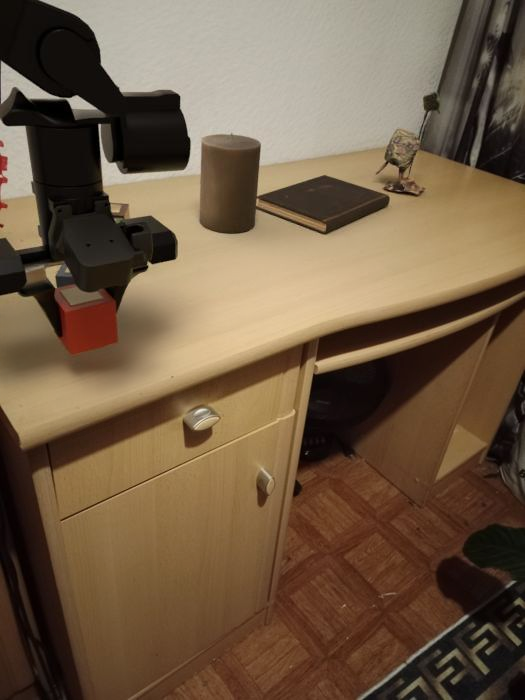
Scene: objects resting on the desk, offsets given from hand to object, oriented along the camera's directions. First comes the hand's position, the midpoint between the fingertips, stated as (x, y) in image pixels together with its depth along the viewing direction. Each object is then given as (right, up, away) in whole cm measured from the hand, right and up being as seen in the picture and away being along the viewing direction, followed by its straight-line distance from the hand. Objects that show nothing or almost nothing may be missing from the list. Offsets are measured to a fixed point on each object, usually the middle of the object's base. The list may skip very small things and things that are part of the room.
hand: (84, 328), depth 56 cm
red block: (0, -1, +1) cm, 1 cm away
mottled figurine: (+48, +33, +64) cm, 87 cm away
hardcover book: (+30, +25, +50) cm, 64 cm away
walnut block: (-5, +15, +29) cm, 33 cm away
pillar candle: (+12, +20, +39) cm, 45 cm away
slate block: (-4, +4, +12) cm, 13 cm away
